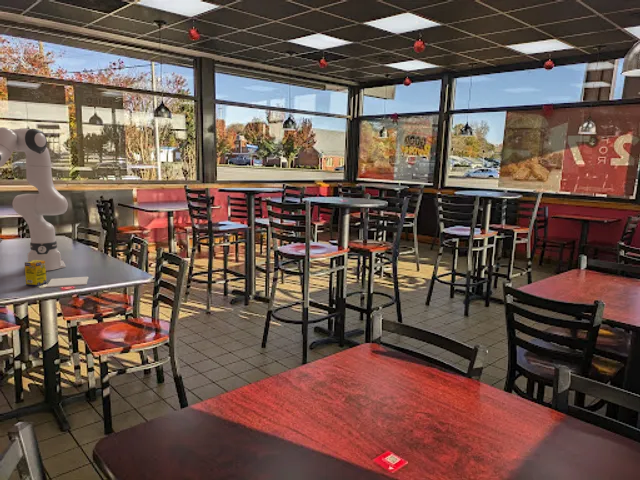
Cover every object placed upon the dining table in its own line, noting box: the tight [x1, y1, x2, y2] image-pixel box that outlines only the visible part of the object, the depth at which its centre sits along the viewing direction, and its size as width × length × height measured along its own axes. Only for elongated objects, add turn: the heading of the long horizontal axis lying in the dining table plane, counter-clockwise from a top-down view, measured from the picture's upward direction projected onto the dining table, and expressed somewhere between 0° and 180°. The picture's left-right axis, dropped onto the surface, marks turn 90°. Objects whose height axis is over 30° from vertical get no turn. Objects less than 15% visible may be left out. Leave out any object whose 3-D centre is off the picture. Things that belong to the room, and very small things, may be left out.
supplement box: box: [24, 260, 48, 287], centre depth 215 cm, size 6×6×11 cm
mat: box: [46, 276, 89, 288], centre depth 221 cm, size 14×16×1 cm
